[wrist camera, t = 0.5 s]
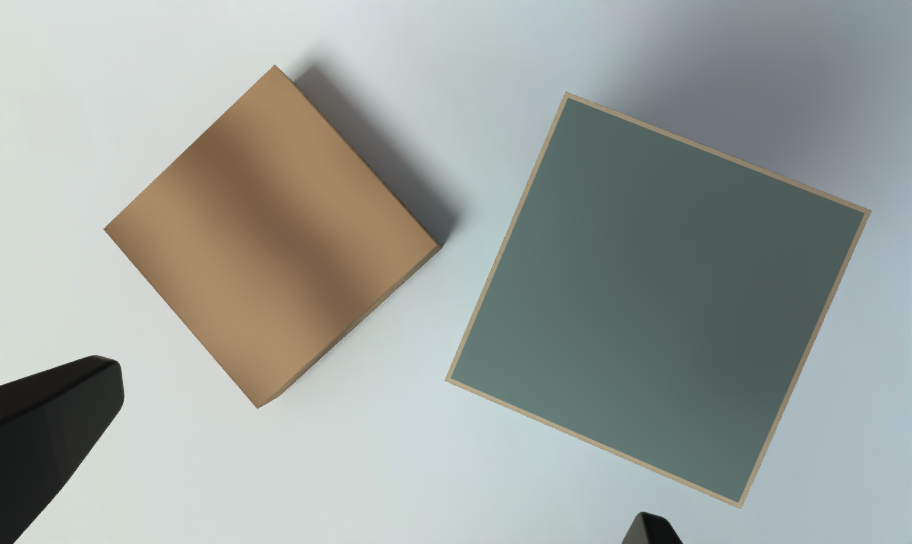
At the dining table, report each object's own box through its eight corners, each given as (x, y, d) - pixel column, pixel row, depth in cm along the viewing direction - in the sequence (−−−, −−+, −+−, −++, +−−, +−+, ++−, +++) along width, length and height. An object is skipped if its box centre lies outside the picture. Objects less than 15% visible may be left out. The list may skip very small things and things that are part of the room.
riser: (281, 395, 25) (257, 408, 22) (142, 233, 25) (103, 229, 23) (443, 248, 24) (437, 245, 22) (297, 85, 25) (274, 64, 22)
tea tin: (614, 387, 23) (741, 509, 11) (469, 326, 24) (444, 380, 12) (675, 242, 23) (871, 210, 11) (529, 183, 23) (565, 91, 12)
